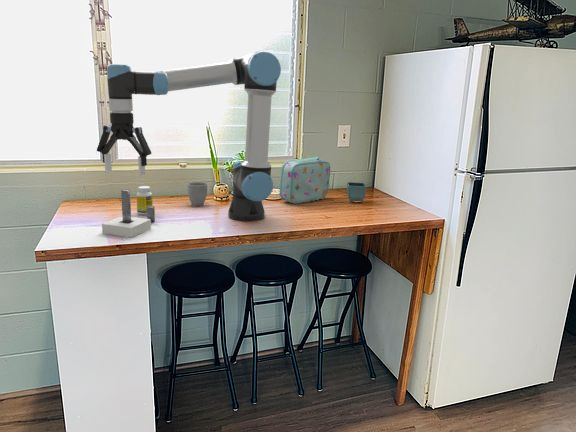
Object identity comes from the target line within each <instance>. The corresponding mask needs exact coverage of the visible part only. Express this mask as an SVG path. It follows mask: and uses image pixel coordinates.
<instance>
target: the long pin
mask: <svg viewBox="0 0 576 432" xmlns="http://www.w3.org/2000/svg"><path fill="white" fill-rule="evenodd" d="M120 197H121V198H120V199H121V200H120V201H121V216H122V220H123V223H127V224H129V223H131V217H132V208H131V190H130V189H121V190H120Z"/></svg>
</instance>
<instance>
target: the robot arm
mask: <svg viewBox="0 0 576 432" xmlns="http://www.w3.org/2000/svg"><path fill="white" fill-rule="evenodd" d="M281 68H282V67H281V63H280V61H279V59H278V58H277V56H276V55H274V54H273V53H271V52H270V51H265V50H258V51H256V52H253V53H250V54H246V55H244V56H242V57H237V58H231V59H230V60H229V61H228V62H220V63H213V64H206V65H205V64H204V65H197V66H189V67H182V68H175V69H165V70H161V71H160V70H158V71H135V70H132V68H131V65H128V64H116V63H115V64H112V63H111V64H109V65H107V68H106V72H107V74H106V75H107V77H106V78H107V91H108V92H107V94H108V108H109V111H110V113H109V119H110V124H111V125H109V124H107V125H103V126H102V134H101V137H100V139H99V142H98V145H97V148H96V151H97V152H99V153H101V156H102V163H103V164H104V171H105V173H107V174H108V173H112V172H113V167H112V153H110V151H111V150H112V148H113V147H114V145H115V143H117V141H118V140H123V141H128V142H129V143H130V144H131V146H132V147H133V148H134V150H135V151H136V153H138V157H137V160H138V161H137V163H138V177H141V176H145V175H146V166H147V164H148V163H147V160H148V159H147V156H150V155H152V151H151V148H150V147H149V144H148V141H147V140H146V138H145V136H144V134H143V128H142V127H141V126H139V127H134V123H135V122H134V113H133V111H134V110H133V109H134V108H133V105H134V104H133V95H145V96H147V95H149V96H150V95H151V96H166V95H168V93H169V92H174V91H182V90H189V89H197V88H204V87H211V86H212V87H213V86H218V85H227V84H232V85H234V86H239V85H244V88H243V90H244V91H245V92H246V93H247V112H246V114H247V115H246V128H245V129H246V134H245V154H244V156H245V157H244V160H243V161H236V162H234V163H233V164H232V199H231V203H230V205H229V208H228V212H227V213H228V215H227V216H228V217H229V219H232V220H236V221H244V222H245V221H246V222H249V221H250V222H251V221H252V222H253V221H258V220H259V221H260V220H262V219H264V218H265V215H266V214H265V213H266V212H265V208H264V205H263V202H262V201H264V200H267V198H268V197H270V195H271V194H272V192H273V189H274V183H273V182H274V181H273V179H272V177H271V176H272V165H271V164H270V162H269V161H268V159H269V144H270V143H269V141H270V129H271V124H270V123H271V112H272V111H271V109H272V97H273V95H274V94H276V92H277V82H278V80H279V78H280V76H281V72H282V69H281ZM111 132H112V134H111ZM134 134H135V135H134Z"/></svg>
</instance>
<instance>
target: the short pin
mask: <svg viewBox="0 0 576 432" xmlns="http://www.w3.org/2000/svg"><path fill="white" fill-rule="evenodd" d="M146 209H147V215H146V219H151V224H152V223H155V222H156V214H155V213H156V212H155V211H156V209H155V206H154V205H153V206H147V207H146Z"/></svg>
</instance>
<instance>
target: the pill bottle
mask: <svg viewBox="0 0 576 432" xmlns="http://www.w3.org/2000/svg"><path fill="white" fill-rule="evenodd" d="M137 189H138V192H137V193H136V213H137V214H138V215H141V216H142V215H143V216H144V215H145V216H147V209H146V207H147V206H154V205H153V193H152V192H151V186H149V185H141V186H138V188H137Z"/></svg>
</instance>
